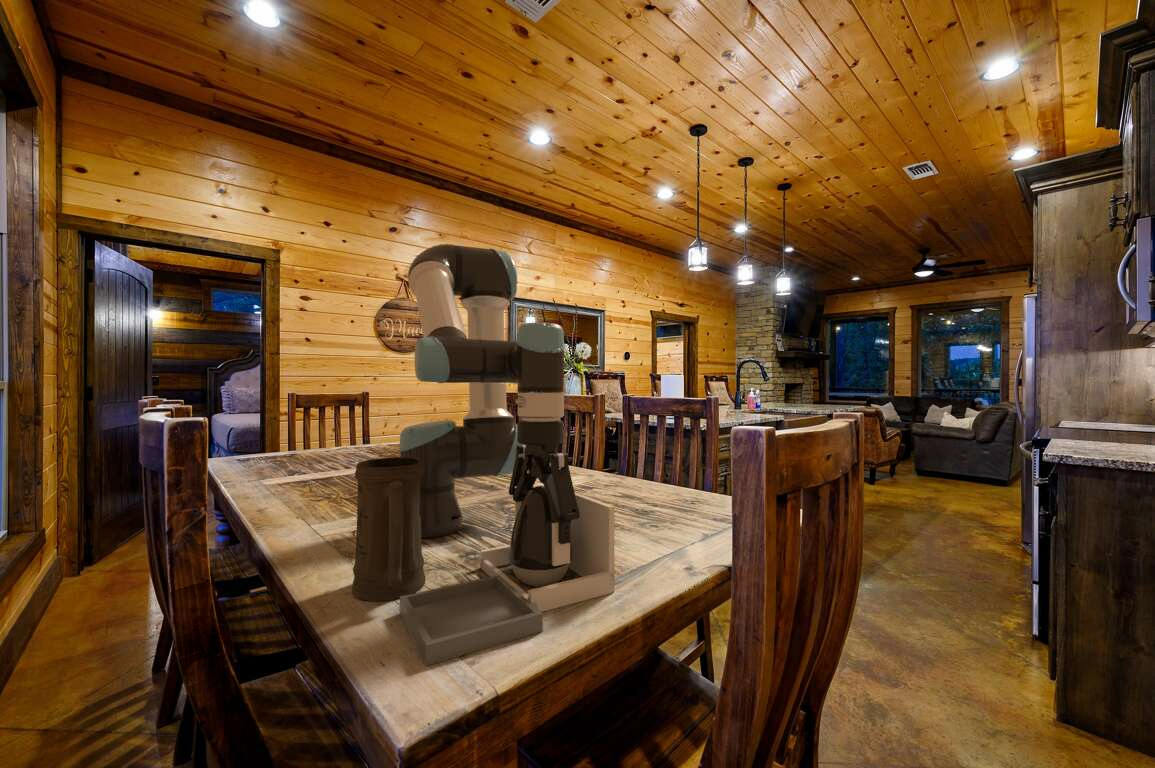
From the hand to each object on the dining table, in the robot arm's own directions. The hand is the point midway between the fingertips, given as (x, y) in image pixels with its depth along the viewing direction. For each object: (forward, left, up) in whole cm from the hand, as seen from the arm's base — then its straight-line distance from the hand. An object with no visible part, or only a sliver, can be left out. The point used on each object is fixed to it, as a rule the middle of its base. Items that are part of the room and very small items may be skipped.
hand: (540, 550), depth 78 cm
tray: (+7, -14, -5) cm, 17 cm away
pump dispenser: (0, 0, -5) cm, 5 cm away
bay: (0, +1, -5) cm, 5 cm away
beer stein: (-8, -21, -5) cm, 23 cm away
